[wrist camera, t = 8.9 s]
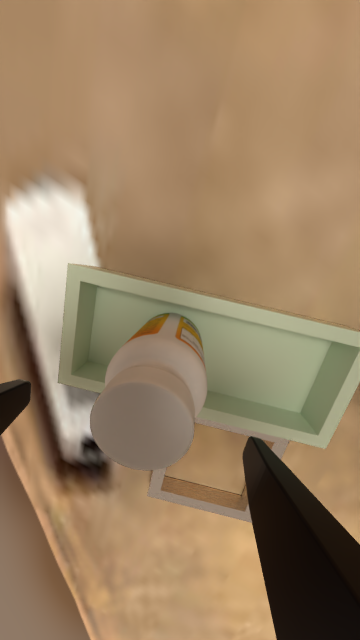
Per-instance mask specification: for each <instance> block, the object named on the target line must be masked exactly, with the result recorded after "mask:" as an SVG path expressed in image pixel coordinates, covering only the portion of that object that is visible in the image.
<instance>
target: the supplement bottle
mask: <svg viewBox="0 0 360 640" xmlns="http://www.w3.org/2000/svg"><path fill="white" fill-rule="evenodd" d="M206 396H207V374H206V367H205V360H204V352H203V345H202V339H201V335H200V332H199V330H198V328H197V327H196V325H195V324H194V323H193V322H192V321H191V320H190V319H188V318H187V317H185V316H183V315H180V314H177V313H163V314H159V315H157V316H155V317H153V318H151V319H150V320H149V321H148V322H146V323H145V324H144V325H143V326H142V327H141V328H140V329H139V330H138V331H137V332H136V333H135V334H134V335H133V336H132V337H131V338H130V339H129V340H128V341H127V342H126V343H125V344H124V345H123V346H122V347H121V348H120V349H119V350H118V351H117V353H116V354H115V355H114V356H113V358H112V360H111V361H110V363H109V365H108V368H107V371H106V376H105V389H104V390H103V391H102V393H101V394H100V395H99V397H98V398H97V399H96V401H95V403H94V405H93V408H92V411H91V415H90V428H91V432H92V435H93V438H94V440H95V442H96V443H97V445H98V446H99V448H100V449H101V450H102V451H103V452H104V453H105V454H106V455H107V456H108V457H109V458H111V459H112V460H114V461H115V462H117V463H119V464H121V465H123V466H125V467H128V468H131V469H136V470H145V471H149V470H158V469H162V468H165V467H168V466H171V465H172V464H174V463H176V462H177V461H179V460H180V459H181V458H182V457H183V456H184V455H185V454H186V453H187V451H188V450H189V448H190V446H191V443H192V441H193V437H194V424H195V418H196V416H197V415H198V414H199V413H200V411H201V409H202V407H203V405H204V403H205V400H206Z"/></svg>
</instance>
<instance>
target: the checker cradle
mask: <svg viewBox="0 0 360 640" xmlns="http://www.w3.org/2000/svg"><path fill="white" fill-rule="evenodd" d="M195 423H198V424H202V425H206V426H210V427H214V428H218V429H222V430H226V431H230V432H234V433H239V434H243V435H247V436H253V437H257V438H260V439H263V440H264V442H265V443H266V445H267V446H268V447H269V448H270V449H271V450H272V451H273V452H274V453H275V454H276V455H277V456H278V457H279V459H280V460H281V458H282V456H283V454H284V452H285V449H286V447H287V445H288V443H289V440H287V439H283V438H279V437H275V436H271V435H267V434H263V433H259V432H255V431H251V430H247V429H243V428H239V427H235V426H231V425H227V424H223V423H219V422H215V421H211V420H206V419H202V418H198V417H196V418H195ZM166 468H167V467H165V468H162V469H158V470H153V472H152V476H151V480H150V485H149V489H148V494H147V496H149V497H153V498H157V499H161V500H165V501H169V502H173V503H177V504H181V505H185V506H188V507H192V508H196V509H200V510H204V511H208V512H212V513H216V514H220V515H224V516H228V517H232V518H235V519H239V520H243V521H247V522H251V523H252V520H251V515H250V510H249V504H248V497H247V489H246V485H245V488H244V490H243V493H242V495H237V494H234V493H230V492H226V491H222V490H218V489H214V488H210V487H206V486H202V485H198V484H194V483H190V482H186V481H182V480H178V479H174V478H170V477H166V476H164V475H165V471H166Z"/></svg>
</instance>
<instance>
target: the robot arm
mask: <svg viewBox="0 0 360 640" xmlns="http://www.w3.org/2000/svg"><path fill="white" fill-rule="evenodd" d="M30 395H31V383H30V382H29V381H25V380H20V379H18V380H14V381H10V382H6V383H2V384H0V435H1V434H2V433H3V432H4V431H5V430H6V429H7V427H8V426H9V425H10V424H11V423H12V422H13V421H14V420H15V419H16V417H17V416H18V415H19V414H20V413H21V412H22V411H23V410H24V409H25V407H26V406H27V405H28V403H29V402H30ZM243 465H244V473H245V481H246V489H247V497H248V504H249V510H250V515H251V520H252V525H253V529H254V534H255V539H256V544H257V548H258V553H259V558H260V563H261V567H262V572H263V577H264V581H265V586H266V591H267V596H268V600H269V605H270V610H271V614H272V619H273V624H274V629H275V633H276V638H277V640H360V544H359V543H358V542H357V541H356V540H355V539H354V538H353V537H352V536H351V535H350V534H349V533H348V532H347V530H346V529H345V528H344V527H343V526H342V525H341V524H340V523H339V522H338V521H337V520H336V519H335V518H334V516H333V515H332V514H331V513H330V512H329V511H328V510H327V509H326V508H325V507H324V506H323V505H322V504H321V503H320V501H319V500H318V499H317V498H316V497H315V496H314V495H313V494H312V493H311V492H310V491H309V490H308V489H307V487H306V486H305V485H304V484H303V483H302V482H301V481H300V480H299V479H298V478H297V477H296V476H295V475H294V474H293V472H292V471H291V470H290V469H289V468H288V467H287V466H286V465H285V464H284V463H283V462H282V461H281V460H280V459H279V457H278V456H277V455H276V454H275V453H274V452H273V451H272V450H271V449H270V448H269V447H268V446H267V445H266V443H265V442H264V441H263V440H262V439H260V438H257V437H253V436H250V437H249V438H248V441H247V443H246V446H245V448H244V451H243Z"/></svg>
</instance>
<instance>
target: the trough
mask: <svg viewBox="0 0 360 640" xmlns="http://www.w3.org/2000/svg"><path fill="white" fill-rule="evenodd" d="M163 313H177V314H180V315H183V316H185V317H187V318H188V319H190V320H191V321H192V322H193V323H194V324H195V325H196V327H197V328H198V330H199V332H200V335H201V339H202V345H203V352H204V360H205V367H206V374H207V396H206V400H205V403H204V405H203V407H202V409H201V411H200V413H199V414H198V415H197V416H196V417H198V418H202V419H206V420H211V421H215V422H219V423H223V424H227V425H231V426H235V427H239V428H243V429H247V430H251V431H255V432H259V433H263V434H267V435H271V436H275V437H279V438H283V439H287V440H291V441H295V442H299V443H304V444H308V445H312V446H316V447H320V448H324V449H326V448H327V446H328V444H329V442H330V440H331V438H332V436H333V434H334V432H335V430H336V428H337V426H338V424H339V422H340V420H341V418H342V416H343V414H344V412H345V410H346V408H347V406H348V404H349V402H350V400H351V398H352V396H353V394H354V392H355V390H356V388H357V387H358V385H359V383H360V330H356V329H353V328H350V327H347V326H344V325H340V324H336V323H332V322H328V321H323V320H319V319H315V318H311V317H306V316H302V315H298V314H294V313H289V312H285V311H281V310H277V309H273V308H268V307H264V306H260V305H256V304H251V303H247V302H243V301H239V300H235V299H230V298H226V297H222V296H218V295H213V294H209V293H205V292H201V291H196V290H192V289H188V288H184V287H180V286H175V285H171V284H167V283H163V282H158V281H154V280H150V279H146V278H141V277H137V276H133V275H129V274H125V273H120V272H116V271H112V270H108V269H103V268H99V267H95V266H87V265H79V264H70V263H68V269H67V281H66V293H65V304H64V316H63V328H62V340H61V352H60V363H59V375H58V383H61V384H65V385H69V386H73V387H77V388H81V389H85V390H89V391H93V392H97V393H102V391H103V390H104V389H105V376H106V371H107V368H108V365H109V363H110V361H111V360H112V358H113V356H114V355H115V354H116V353H117V351H118V350H119V349H120V348H121V347H122V346H123V345H124V344H125V343H126V342H127V341H128V340H129V339H130V338H131V337H132V336H133V335H134V334H135V333H136V332H137V331H138V330H139V329H140V328H141V327H142V326H143V325H144V324H145V323H146V322H148V321H149V320H150V319H151V318H153V317H155V316H157V315H159V314H163Z"/></svg>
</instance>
